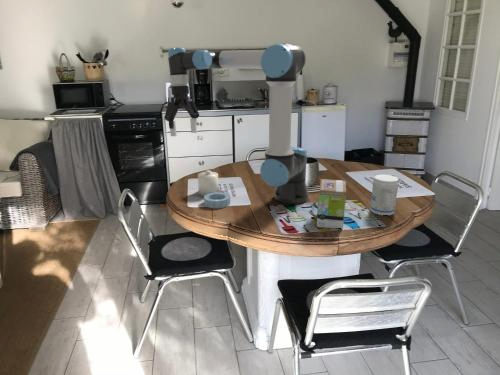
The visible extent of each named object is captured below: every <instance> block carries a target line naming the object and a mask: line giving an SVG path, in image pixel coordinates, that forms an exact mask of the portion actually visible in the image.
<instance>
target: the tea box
mask: <svg viewBox="0 0 500 375" xmlns="http://www.w3.org/2000/svg"><path fill="white" fill-rule="evenodd" d="M346 198H347V182H346V180H340V179H327V178H325V179H324V178H321V179H320V185H319V189H318V199H317V211H316V212H317V214H316V227H318V228H325V229H326V228H327V229H335V228H341V229H340V230H342V229H344V220H345V212H346V211H345V210H346V200H347V199H346Z"/></svg>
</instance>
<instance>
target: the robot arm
mask: <svg viewBox="0 0 500 375" xmlns="http://www.w3.org/2000/svg"><path fill="white" fill-rule="evenodd" d="M167 56H168V57H167V61H168V65H169V79H170V85H171V88H170V89H171V95H172V96H171V97H167V106H166V110H165V115H164V120H165V121H166V122H168V128H169V131H170V132H169V133H170V137H178V136H177V126H176V120H175V117H176V116H177V114H178V112H179V110H180V108H184V109H185V110H186V112H187V113H188V115H189V116H190V118H189V120H190V132H191V134H197V132H198V128H197V124H198V123H197V122H198V121H197V119H198V118H199V117H200V112H199V110H198V108H197V106H196V102H195V101H194V96H193V95H189V94H190V86H189V75H188V71H194V70H195V71H197V70H210V69H217V70H218V69H227V70H228V69H230V70H231V69H232V70H233V69H235V70H237V69H238V70H239V69H240V70H241V69H242V70H243V69H244V70H245V69H246V70H262V72H263V73H264V74H265V82H266V84H267V85H268V86H269V104H268V105H269V107H268V108H269V109H268V110H269V112H268V114H269V116H268V119H269V122H268V148H267V149H266V150H265V151H264V161H263V162H262V163H261V165H260V168H259V173H260V176H261V178H262V180H263V181H264V182H265V183H266V184H267V185H268V186H271V187H274V188H275V191H274V200H276V202H279V203H282V204H289V205H297V204H303V203H307V202H308V201H309V200H310V193H309V190H308V187H307V182H306V181H307V180H306V177H307V176H306V175H307V174H306V173H307V161H308V159H307V158H308V155H307V152H308V151H307V150H306V148H303V147H297V146H291V143H292V142H291V140H292V139H291V137H292V111H293V110H292V107H293V106H292V104H293V101H292V100H293V98H292V97H293V86H294V85H295V84H296V83H297V77H298V76H297V75H298V74H299V73H300V72H301V71H302V70H303V69H304V67H305V65H306V60H307V59H306V53H305V52H304V50H303V49H302V47H301V46H299V45H297V44H293V43H276V44H275V43H274V44H271V45H269V46H268V47H267V48H265V49H260V50H259V49H249V50H247V49H245V50H241V49H240V50H208V49H198V50H191V51H186V48H185V47H172V48H171V47H170V48H169V49H168V52H167ZM188 95H189V96H188Z"/></svg>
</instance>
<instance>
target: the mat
mask: <svg viewBox="0 0 500 375" xmlns="http://www.w3.org/2000/svg"><path fill="white" fill-rule="evenodd" d="M219 192H220V193H226V192H227V191H226V190H220V189H218V193H219ZM190 196H191V197H195V198H196V197H197V198H203V199H204V196H200V195H199V190H197V191H196V192H194V193H192V194H190Z"/></svg>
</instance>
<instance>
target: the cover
mask: <svg viewBox="0 0 500 375" xmlns="http://www.w3.org/2000/svg"><path fill="white" fill-rule="evenodd" d="M197 182H198V184H197V185H198V190H197V191H199V195H200V196H205V195H207V194H210V193H218V190H219V173H218V172H215V171H212V170H209V169H206V170H205V171H202V172H199V173H197Z"/></svg>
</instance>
